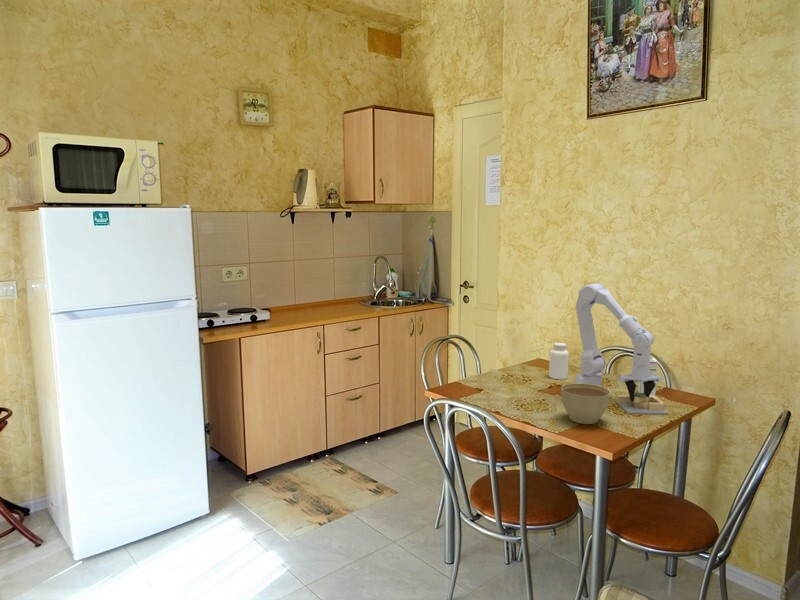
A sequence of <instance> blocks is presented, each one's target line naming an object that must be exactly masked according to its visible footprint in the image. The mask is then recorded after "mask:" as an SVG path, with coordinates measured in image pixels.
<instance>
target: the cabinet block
mask: <svg viewBox="0 0 800 600" xmlns="http://www.w3.org/2000/svg"><path fill="white" fill-rule="evenodd" d="M648 401H649V398H648V397H647V396H645V394H644V393H638V392H635V394H634V401H631V405H632V406H633V407H634V408H635V409H648Z"/></svg>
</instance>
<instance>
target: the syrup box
mask: <svg viewBox="0 0 800 600" xmlns="http://www.w3.org/2000/svg"><path fill="white" fill-rule="evenodd" d="M657 371H658V360H657V359H656V358H655V357H654V356H653V357H652V356H650V368H649V375H654V376H658V375H657ZM654 383H655V384H656V385H655V387H654V389H653V390H652V392H651V393H650V395H654V396H656V391H657V390H656V389H657V388H656V387H657V382H654ZM637 393H644V382H642V381H637Z"/></svg>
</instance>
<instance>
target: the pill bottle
mask: <svg viewBox="0 0 800 600" xmlns="http://www.w3.org/2000/svg"><path fill="white" fill-rule="evenodd" d="M569 355H570V353H569V351H568V350H567V344H566V343H563V342H554V343H553V347H552V349H551V350H550V352H549V361H548V362H549V364H548V365H549V366H548V377H549V378H551V379H553V380H562V381H563V380H566V379H568V373H569V372H568V371H569V359H570V356H569Z"/></svg>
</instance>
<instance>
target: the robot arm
mask: <svg viewBox="0 0 800 600" xmlns="http://www.w3.org/2000/svg"><path fill="white" fill-rule="evenodd" d="M577 293H578V297H577V300H576V303H575V311H576V317H577V322H578V328H579V334H580V340H581V345H582V353H581V356H580V359H581V362H580V370H581V372H582V373H577V374H576V375H575V376H576V377H575V383H583V384H592V385H598V386H601V387H603V385H602V384H603V370H604V369H605V368H606V364H607V363H606V359H604V356H603V355H602V351H601V350H600V349H599V348H598V342H597V336H596V331H595V325H594V320H593V315H592V308H593V306H594V305H595V304H598V305H599V304H600V305H603V306H605V307H606V309H607V310H608V311H610V313H612V314H613V315H614V316H615V318H616V319H617V320H618V325H619V327H620V328H621V329H622V330H623V332H624V333H625V334H626V335H627V337H628V338H629V339H631V344H632V346H633V354H632V355H633V356H632V370H631V374H622V375H621V374H619V377H618V380H619V381H620V382H621V383H623V382H624V383H625V386H626V388H627V391H628V395H629V396H630V400H631V401H634V394H635V393H636V388H637V384H636V382H638V381H642V382H644V394H645V396H647V397H648V398H649V396H650V393H651V392H652V390H653V389H654V387H655V385H656V386H657V382H658V383H661V382H662V376H660V375H657V376H654V375H649V368H650V357H651V356H652V355H651V354H652V353H651V352H652V345H653V343H654V341H655V337H654V335H653V333H652V332H651V331H649V330H647V329H646V328H645V327H643V326H642V325H641V324H640V323H639V322H638V318H637V316H633V315H631V314H630V315H629V314H627V313H626V312H625V310H624V309H623V308H622V306H620V304H619V303H618V302H617V301H616V299H615V298H614V297H613V296H612V294H611V292H610V290H609V289H608V288H607V287H606V286H605V285H604V284H603V283H600V282H596V283H593V284H592V283H591V284H585V285H584V286H582V287H581V289H579V290H578V292H577ZM654 382H656V384H655V383H654Z"/></svg>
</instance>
